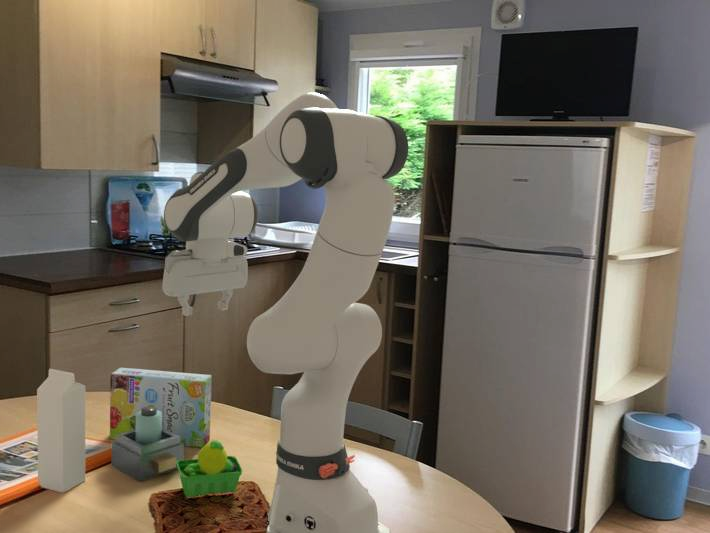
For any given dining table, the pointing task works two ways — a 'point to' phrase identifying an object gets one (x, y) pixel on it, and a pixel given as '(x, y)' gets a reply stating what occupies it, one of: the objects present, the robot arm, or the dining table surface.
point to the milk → (61, 432)
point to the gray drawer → (146, 455)
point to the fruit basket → (209, 471)
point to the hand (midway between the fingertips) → (205, 312)
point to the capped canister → (148, 425)
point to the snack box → (162, 402)
